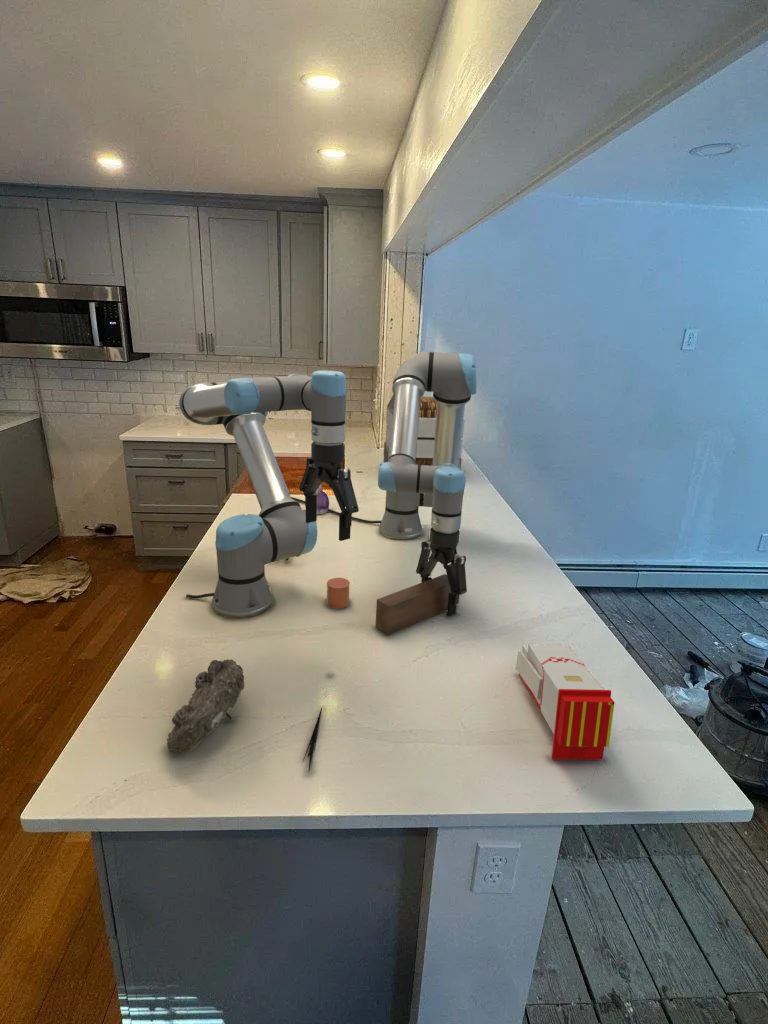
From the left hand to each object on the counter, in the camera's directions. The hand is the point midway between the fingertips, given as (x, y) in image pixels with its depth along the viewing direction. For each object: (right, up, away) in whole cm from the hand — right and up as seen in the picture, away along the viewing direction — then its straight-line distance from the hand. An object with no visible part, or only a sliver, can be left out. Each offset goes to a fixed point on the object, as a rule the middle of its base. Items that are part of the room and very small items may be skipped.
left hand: (327, 530), depth 134 cm
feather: (+1, -35, -25) cm, 44 cm away
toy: (+48, -36, -20) cm, 63 cm away
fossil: (-19, -35, -26) cm, 48 cm away
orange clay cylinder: (+1, -20, +18) cm, 27 cm away
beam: (+22, -23, +12) cm, 34 cm away
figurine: (-12, +5, +84) cm, 85 cm away
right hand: (+28, -21, +17) cm, 39 cm away
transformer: (+31, +23, +141) cm, 146 cm away
